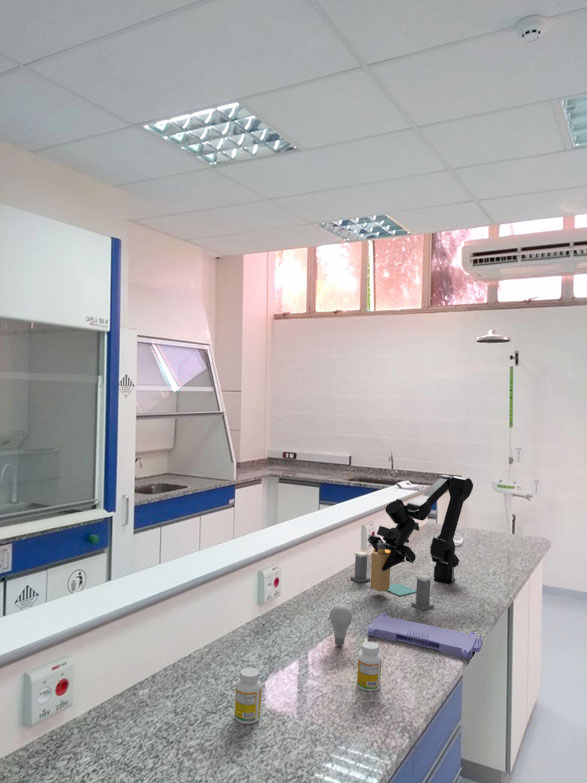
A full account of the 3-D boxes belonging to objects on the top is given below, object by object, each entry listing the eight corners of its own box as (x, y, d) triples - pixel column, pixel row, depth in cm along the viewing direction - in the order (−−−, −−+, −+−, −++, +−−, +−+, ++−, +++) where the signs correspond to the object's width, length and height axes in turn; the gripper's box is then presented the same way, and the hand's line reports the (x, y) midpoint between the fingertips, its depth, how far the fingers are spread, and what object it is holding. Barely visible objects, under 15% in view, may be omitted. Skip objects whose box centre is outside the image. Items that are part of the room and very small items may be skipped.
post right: (360, 577, 222) (362, 550, 222) (370, 580, 218) (371, 554, 218) (350, 579, 219) (351, 552, 219) (359, 583, 215) (361, 555, 215)
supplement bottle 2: (365, 678, 144) (366, 638, 144) (384, 686, 140) (386, 645, 140) (352, 686, 140) (354, 644, 140) (372, 694, 136) (374, 652, 136)
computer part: (475, 665, 154) (484, 644, 168) (476, 648, 154) (484, 629, 168) (365, 639, 168) (381, 621, 181) (365, 623, 168) (381, 607, 181)
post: (421, 602, 198) (423, 573, 198) (433, 607, 194) (435, 577, 193) (411, 605, 195) (412, 575, 195) (423, 610, 191) (424, 579, 191)
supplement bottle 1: (247, 728, 121) (249, 680, 121) (229, 717, 124) (231, 671, 124) (265, 717, 125) (267, 671, 125) (247, 708, 128) (249, 663, 128)
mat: (399, 584, 215) (399, 583, 215) (417, 592, 208) (417, 591, 208) (380, 588, 210) (381, 587, 210) (399, 596, 203) (399, 595, 203)
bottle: (380, 585, 207) (381, 542, 206) (389, 589, 203) (391, 545, 203) (370, 587, 204) (372, 543, 204) (379, 591, 200) (381, 547, 200)
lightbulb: (353, 643, 163) (354, 603, 163) (347, 652, 157) (349, 611, 157) (331, 639, 165) (333, 599, 165) (325, 648, 159) (327, 607, 159)
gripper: (372, 512, 213) (347, 546, 207) (411, 523, 198) (385, 561, 192) (387, 531, 218) (363, 566, 211) (426, 544, 203) (402, 581, 196)
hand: (377, 568), depth 203 cm, fingers closed on bottle, 4 cm apart
